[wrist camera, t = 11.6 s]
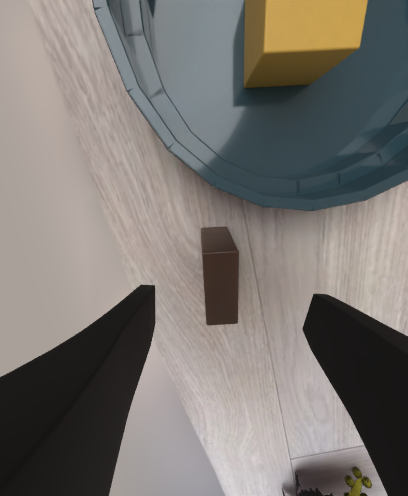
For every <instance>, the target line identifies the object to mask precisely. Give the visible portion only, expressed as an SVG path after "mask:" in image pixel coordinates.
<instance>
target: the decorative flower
mask: <svg viewBox="0 0 408 496" xmlns="http://www.w3.org/2000/svg"><path fill="white" fill-rule="evenodd" d="M353 474H354V476H355V477H357V479H358V478H359V479H358V480H356V481H355V482H354V480H353V479H352V477H351V476H348V475H346V477H345V481H346V484H347V485H348V486H349V487H352V488H351V490H350V493H345V494H344V496H367V495H366V494H365V493H361V494H360V492H361V486H362V482H363V485H364V486H365V487H366V488H371V486H372V484H371V481H370V480H369V478H368V477H365V476H364V477H363V478H362V473H361V471H360V470H359V469H358V468H354V469H353ZM295 480H296V491H297V496H333V495H332V493H331V494H330V495H328V494H327V495H323V494H321V492H320V491H319V490H318V489H317V488H316V492H315V491H313V490H312V489H311V488H310V491H307V490H302V489H301V485H300V482H299V479H298V475H297V474H296V472H295ZM282 491H283V489H282ZM283 496H285V495H284V492H283Z"/></svg>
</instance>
